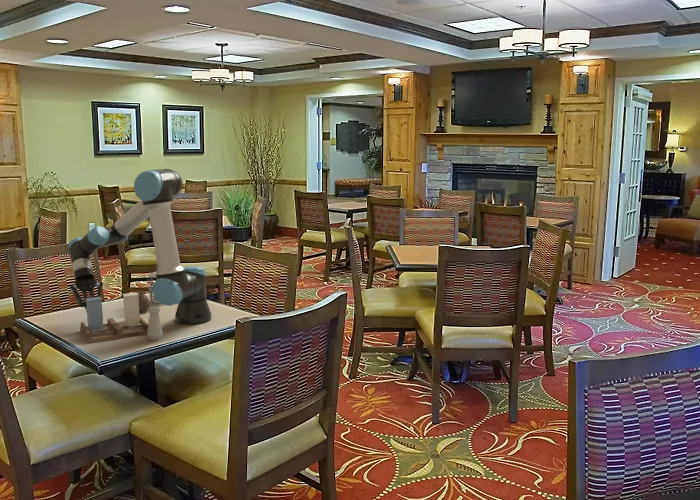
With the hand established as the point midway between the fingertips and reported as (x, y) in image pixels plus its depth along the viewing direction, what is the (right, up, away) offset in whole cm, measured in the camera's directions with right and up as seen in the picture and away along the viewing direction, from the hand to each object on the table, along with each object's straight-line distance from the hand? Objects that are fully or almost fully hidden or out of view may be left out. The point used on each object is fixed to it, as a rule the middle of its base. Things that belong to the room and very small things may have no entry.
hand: (93, 320), depth 248 cm
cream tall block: (+14, -3, +5) cm, 15 cm away
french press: (+11, +3, +46) cm, 47 cm away
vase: (+9, 0, +31) cm, 33 cm away
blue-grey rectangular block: (+2, -4, -2) cm, 5 cm away
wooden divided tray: (+8, -5, +1) cm, 10 cm away
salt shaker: (+27, -7, -7) cm, 28 cm away
